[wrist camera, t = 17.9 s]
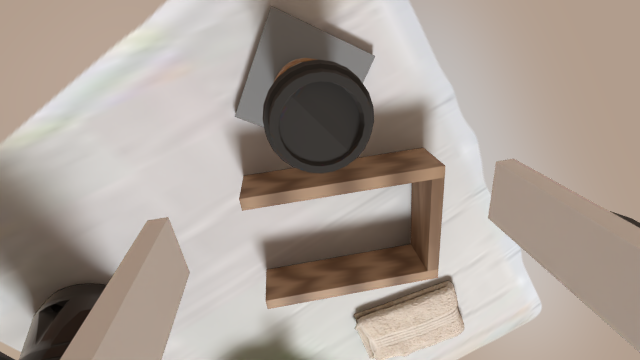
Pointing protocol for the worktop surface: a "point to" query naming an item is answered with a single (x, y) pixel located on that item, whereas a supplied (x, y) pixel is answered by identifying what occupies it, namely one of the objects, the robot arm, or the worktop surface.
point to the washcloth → (410, 322)
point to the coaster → (292, 58)
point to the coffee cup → (317, 115)
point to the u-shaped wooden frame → (362, 267)
